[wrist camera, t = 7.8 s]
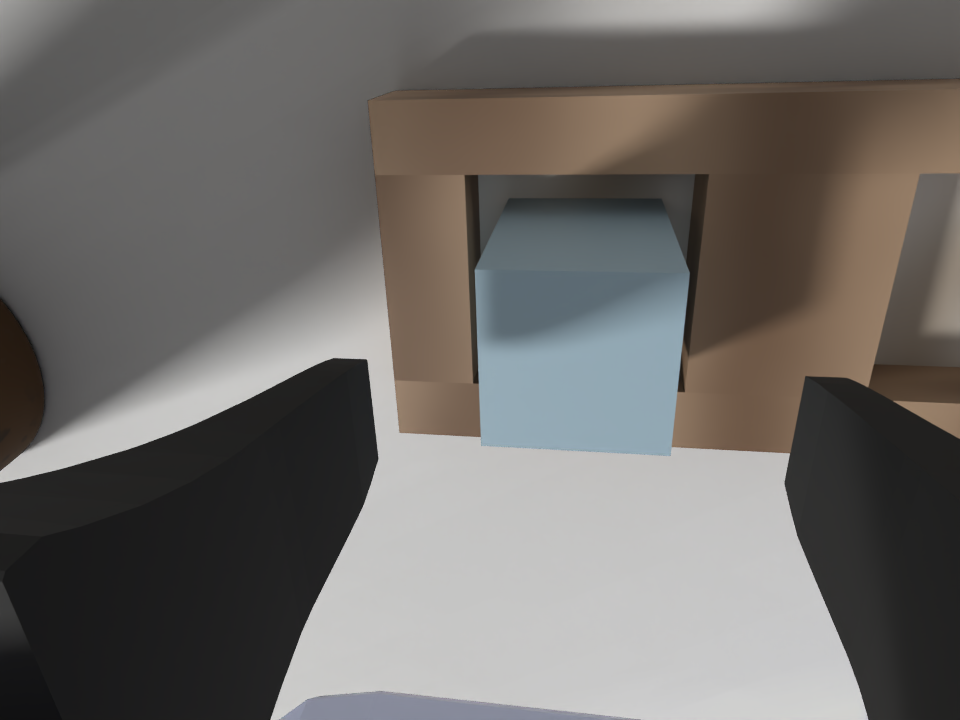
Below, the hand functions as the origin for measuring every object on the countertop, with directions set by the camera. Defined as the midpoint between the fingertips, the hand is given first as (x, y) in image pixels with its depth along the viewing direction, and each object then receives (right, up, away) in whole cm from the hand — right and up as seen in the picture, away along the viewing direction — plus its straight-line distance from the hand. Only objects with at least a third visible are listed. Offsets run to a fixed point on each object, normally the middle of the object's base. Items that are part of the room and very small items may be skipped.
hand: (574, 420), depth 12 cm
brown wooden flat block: (+6, +4, +7) cm, 10 cm away
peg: (+1, +4, +8) cm, 8 cm away
